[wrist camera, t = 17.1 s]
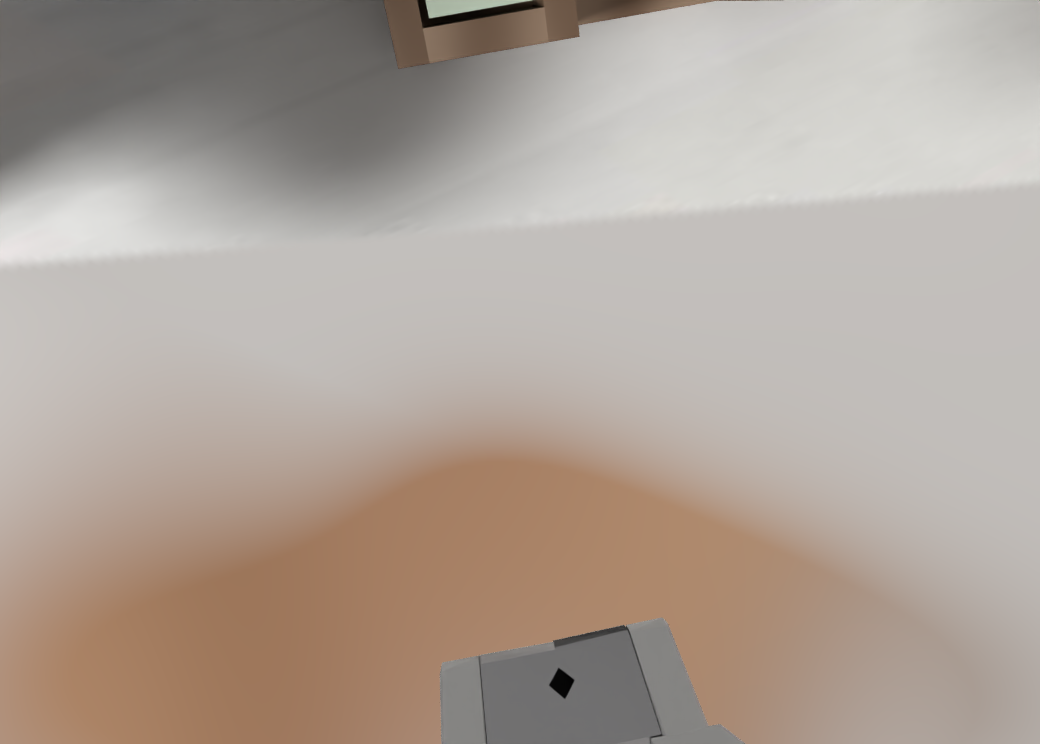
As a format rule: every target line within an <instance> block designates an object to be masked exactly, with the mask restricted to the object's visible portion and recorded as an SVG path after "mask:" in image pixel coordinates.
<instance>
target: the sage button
mask: <svg viewBox="0 0 1040 744" xmlns="http://www.w3.org/2000/svg"><path fill="white" fill-rule="evenodd" d="M425 1H426V6H427V11H428V16H429V18H434V17H440V16H446V15H451V14H457V13H463V12H468V11H474V10H480V9H485V8H491V7H497V6H503V5H508V4H514V3H520V2H525V1H531V0H425Z"/></svg>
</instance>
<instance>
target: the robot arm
mask: <svg viewBox="0 0 1040 744" xmlns="http://www.w3.org/2000/svg"><path fill="white" fill-rule="evenodd" d="M440 696H441V697H440V700H441V741H442V744H745V743H744V742H743V741H741V740H740V739H739V738H737V737H736V736H735V735H733V734H732V733H731V732H730V731H728V730H727V729H726V728H725V727H723V726H722V725H721V724H718V725H712V726H708V724H707V721H706V719H705V716H704V714H703V711H702V709H701V706H700V704H699V701H698V698H697V696H696V693H695V691H694V689H693V686H692V683H691V681H690V678H689V676H688V673H687V671H686V668H685V666H684V663H683V661H682V658H681V656H680V653H679V651H678V648H677V645H676V643H675V641H674V638H673V636H672V633H671V630H670V628H669V625H668V623H667V622H666V621H665V620H664V619H663V618H658V619H653V620H649V621H644V622H639V623H634V624H630V625H626V627H625V626H624V625H622V626H617V627H613V628H609V629H604V630H599V631H595V632H590V633H586V634H581V635H577V636H572V637H568V638H563V639H559V640H554V641H553V642H550V643H545V644H540V645H534V646H528V647H523V648H518V649H512V650H506V651H500V652H495V653H490V654H484V655H480V656H475V657H470V658H464V659H459V660H454V661H449V662H443V663H442V667H441V672H440Z"/></svg>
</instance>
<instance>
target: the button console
mask: <svg viewBox="0 0 1040 744" xmlns="http://www.w3.org/2000/svg"><path fill="white" fill-rule="evenodd" d="M712 1H758V0H531V1H525V2H520V3H514V4H508V5H503V6H497V7H491V8H485V9H480V10H474V11H468V12H463V13H457V14H451V15H446V16H440V17H434V18H429V16H428V11H427V6H426V1H425V0H384V5H385V10H386V14H387V19H388V23H389V28H390V33H391V37H392V42H393V46H394V51H395V56H396V60H397V65H398V69H401V68H406V67H412V66H417V65H423V64H429V63H434V62H440V61H445V60H451V59H457V58H462V57H468V56H474V55H479V54H485V53H490V52H496V51H502V50H507V49H513V48H518V47H524V46H530V45H535V44H541V43H547V42H552V41H558V40H563V39H569V38H575V37H579V27H578V25H582V24H588V23H594V22H599V21H605V20H610V19H616V18H622V17H627V16H633V15H639V14H644V13H650V12H655V11H661V10H667V9H672V8H678V7H684V6H689V5H695V4H701V3H706V2H712Z"/></svg>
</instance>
